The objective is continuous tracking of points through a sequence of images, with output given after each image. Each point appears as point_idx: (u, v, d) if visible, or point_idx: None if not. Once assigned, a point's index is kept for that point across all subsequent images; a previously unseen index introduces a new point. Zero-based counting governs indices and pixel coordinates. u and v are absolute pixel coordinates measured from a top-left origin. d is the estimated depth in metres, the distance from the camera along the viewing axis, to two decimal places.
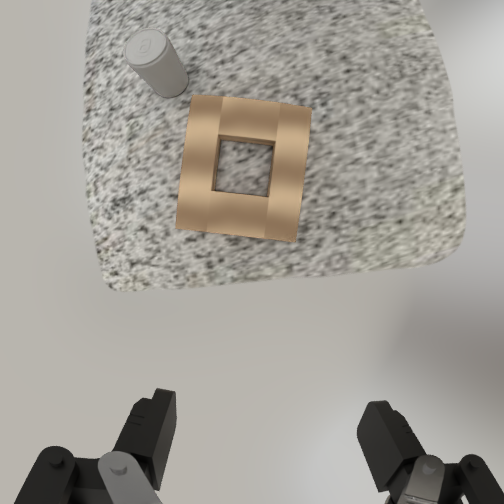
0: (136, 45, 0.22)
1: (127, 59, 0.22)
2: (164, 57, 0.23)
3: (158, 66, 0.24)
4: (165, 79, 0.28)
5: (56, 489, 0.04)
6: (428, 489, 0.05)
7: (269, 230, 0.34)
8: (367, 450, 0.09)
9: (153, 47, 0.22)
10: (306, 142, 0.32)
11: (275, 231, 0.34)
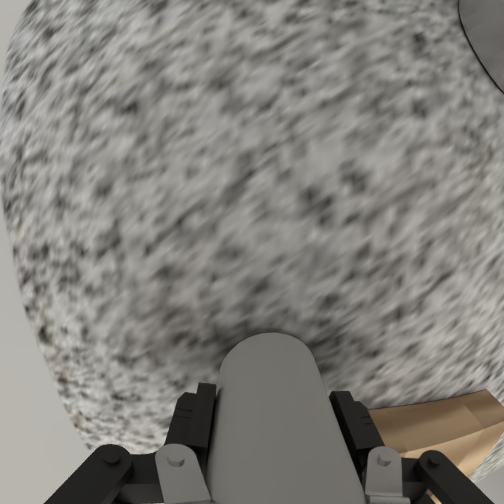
0: None
1: None
2: None
3: None
4: None
5: (104, 486, 0.05)
6: (389, 482, 0.06)
7: None
8: None
9: None
10: (483, 458, 0.12)
11: None
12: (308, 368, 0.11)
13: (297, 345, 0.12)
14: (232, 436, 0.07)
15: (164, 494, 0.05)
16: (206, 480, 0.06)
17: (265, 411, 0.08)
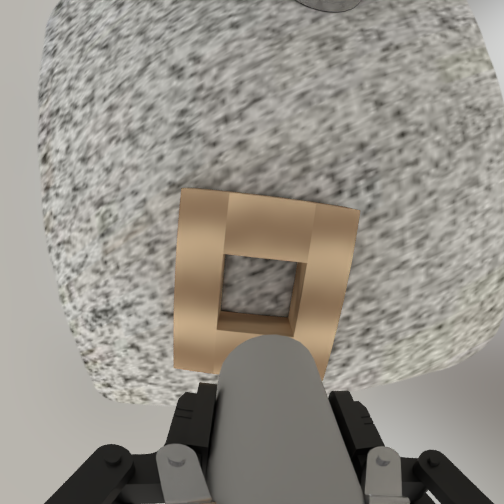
0: None
1: None
2: None
3: None
4: None
5: (105, 486, 0.05)
6: (388, 482, 0.06)
7: None
8: None
9: None
10: (348, 263, 0.23)
11: None
12: (308, 370, 0.11)
13: (297, 347, 0.12)
14: (233, 439, 0.07)
15: (165, 494, 0.05)
16: (207, 482, 0.06)
17: (265, 413, 0.08)
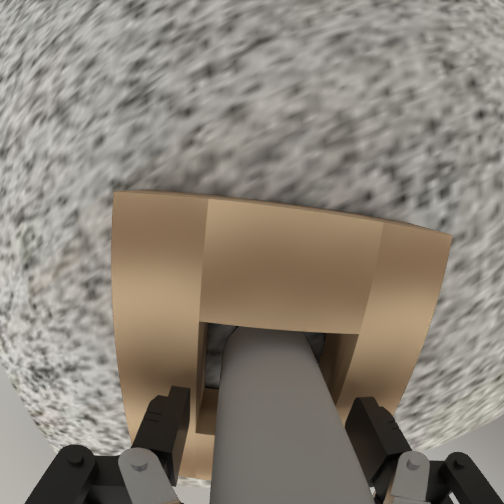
0: None
1: None
2: None
3: None
4: None
5: (73, 487, 0.04)
6: (415, 485, 0.05)
7: None
8: (354, 446, 0.10)
9: None
10: (425, 327, 0.12)
11: None
12: (302, 345, 0.13)
13: None
14: (239, 400, 0.09)
15: (133, 501, 0.05)
16: (217, 440, 0.08)
17: (266, 377, 0.10)
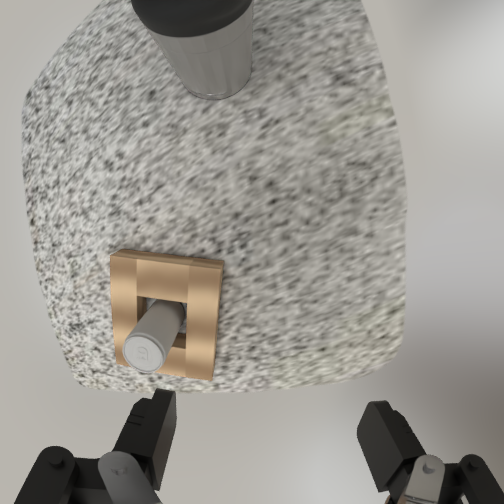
0: (134, 352, 0.28)
1: (130, 364, 0.28)
2: None
3: None
4: None
5: (56, 489, 0.04)
6: (428, 489, 0.05)
7: (189, 372, 0.37)
8: (367, 450, 0.09)
9: (152, 359, 0.28)
10: (215, 303, 0.35)
11: (194, 373, 0.37)
12: (171, 306, 0.36)
13: None
14: None
15: None
16: None
17: (151, 311, 0.33)
